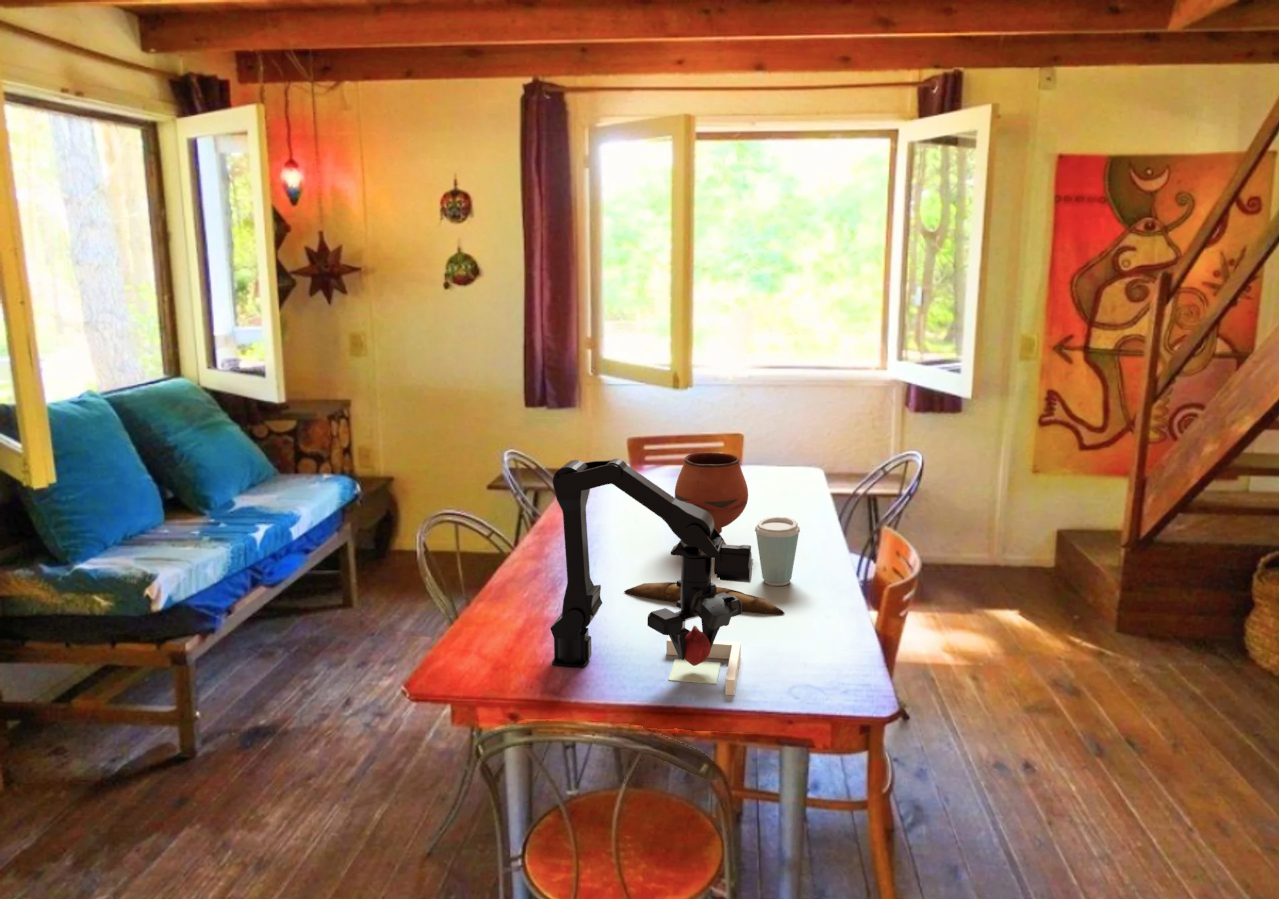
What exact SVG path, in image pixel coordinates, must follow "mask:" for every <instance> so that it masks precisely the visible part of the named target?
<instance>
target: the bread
mask: <svg viewBox="0 0 1279 899" xmlns="http://www.w3.org/2000/svg"><path fill="white" fill-rule="evenodd" d="M716 588H717V594H720V593H723V592H724V593H727V594H729V595H731V596H733V595H734V596H735V597H736V598H737V599H739V600H740V602H741V604H742V612H747V613H749V612H750V613H756V614H766V613H769V614H770V615H785V612H784V611H783V610H782V609H781V608H778V607H777V606H776V605H774V604H772V603H771V602H769V601H768V600H766V599H765V598H762V597H758V596H755V595H751V594H747V593H744V592H742V591H738V590H736V589H735V590H734V589H731V588H727V587H719V586H716ZM624 593H625V594H629V595H631V596H632V595H633V596H636V597H642V598H647V599H652V600H660V601H666V602H671V603H672V602H673V603H676V601H679V600H681V588H680V587H678V586H677V581H675V582H674V581H673V582H668V581H667V582H665V581H663V582H647V583H641V584H639V585H636V586H633V587H631V588H630V587H629V588H628V589H626V590H624ZM769 614H768V615H769Z"/></svg>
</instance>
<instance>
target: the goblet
mask: <svg viewBox="0 0 1279 899" xmlns="http://www.w3.org/2000/svg"><path fill="white" fill-rule="evenodd" d="M740 461H741V459H740V457H739V456H737V455H734V454H729V453H722V452H695V453H694V452H692V453H690V454H688V455H686V456H685V457H684V460H683V464H682V467H681V470H680V472H679V474H678V477H677V481H676V483H675V488H674V498H676V499H678V500H680V501H683V502H686V503H690V504H693V505H695V506H697V507H699V508H701V509H703V510H706V511H707V512H709V513H710V514H711V515H712V517H713V520H714V527H715V528H716V530H717V531H718V532H719V534H720V535H721V533H722V531H723V528H724V527H727V526H729V525H731V523H733V522H734V521H735V520H737V519H738V518H739V517H740V516H741V514H742V513H744V511H745V509H746V507H747V503H748V500H749V490H748V485H747V481H746V479H745V475H744V474H743V473H744V472H743V471H742V468H741V463H740ZM724 545H727V543H726V541H724Z"/></svg>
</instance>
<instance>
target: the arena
mask: <svg viewBox="0 0 1279 899" xmlns="http://www.w3.org/2000/svg"><path fill="white" fill-rule="evenodd" d="M741 646H742V642H740V641H725V640H714V642H713V645H712V648H711V650H710V654H709V656H708V657H707V658H710V659H711V658H712V659H723V660H728V665H727V671H726V676H725V693H724V694H725V695H726V696H735V692H736V686H737V679H738V674H739V669H740V662H741V656H742V655H741V654H742V653H741V650H742V647H741ZM665 650H666V653H665V654H666V655H669V656H670V655H671V656H678V654H677V652H676V649H675V647H674V645H673V643H672V641H671V638H670V637H669V636H668V637H667V638H666V649H665ZM721 664H722V663H721V662H719V661H707V660H705V661H704V662H702V663H700V664H698V665H696V666H693V665H691V664H690V663H689V662H687V661H686V660H685V659H684V660H681V659H680V658H674V661H673V663H672V668H671V671H670V673H669V676H668V681H670V682H684V683H696V684H707V685H708V684H709V685H717V682H718V678H719V672H720V668H721Z"/></svg>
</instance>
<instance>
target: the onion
mask: <svg viewBox="0 0 1279 899" xmlns="http://www.w3.org/2000/svg"><path fill="white" fill-rule="evenodd" d="M710 650H711V645H710V642H709V640H708V638H707V636H706V635H705V634H704V633H703V632H702V630H700V629H699V628H698V626H696V625H693V626H692V629H691V630H690V632H689V633H688V634H687V635H686V643H685V658H684V660H686V661H687V662H689V663H690V664H691V665H693V666H696V665H698V664H700V663H702V662H704V661H707V657H708V656H709V654H710Z"/></svg>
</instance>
